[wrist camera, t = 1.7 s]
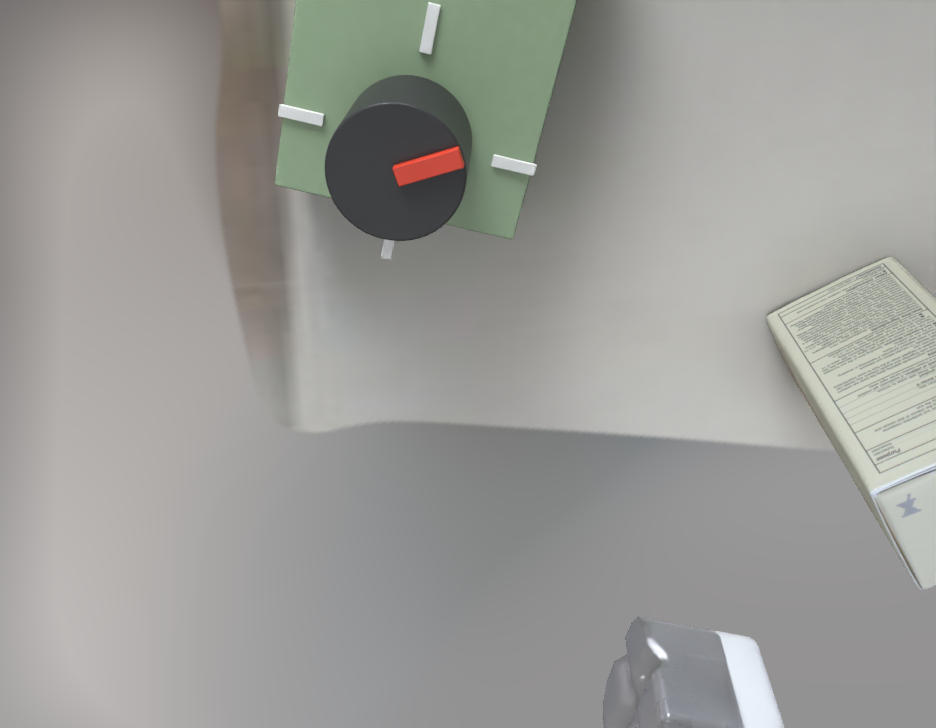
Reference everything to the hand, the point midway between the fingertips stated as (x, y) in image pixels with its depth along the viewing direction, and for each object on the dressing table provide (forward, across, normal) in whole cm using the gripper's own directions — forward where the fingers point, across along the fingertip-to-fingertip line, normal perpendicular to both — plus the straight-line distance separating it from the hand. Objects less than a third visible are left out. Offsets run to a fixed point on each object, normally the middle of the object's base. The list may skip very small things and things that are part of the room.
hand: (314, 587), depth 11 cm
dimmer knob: (+19, +1, 0) cm, 19 cm away
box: (+22, -17, +4) cm, 28 cm away
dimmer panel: (+22, +1, -3) cm, 22 cm away
